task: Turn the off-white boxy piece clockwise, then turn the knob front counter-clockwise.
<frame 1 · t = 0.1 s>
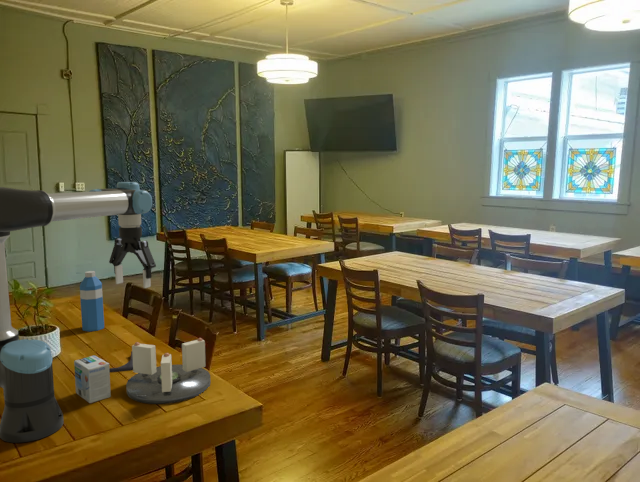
hand: (133, 285, 185), 28 cm above the table, fingers open, 13 cm apart
plate: (169, 385, 167), on the table
knob front: (166, 373, 158), point 8 cm above the table, hinge at 0.0°
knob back: (144, 359, 169), point 8 cm above the table, hinge at 0.0°
water bottle: (93, 328, 226), on the table
light bulb box: (93, 395, 161), on the table
off-white boxy piece: (193, 355, 172), point 8 cm above the table, hinge at 0.0°
bracket: (132, 364, 187), on the table
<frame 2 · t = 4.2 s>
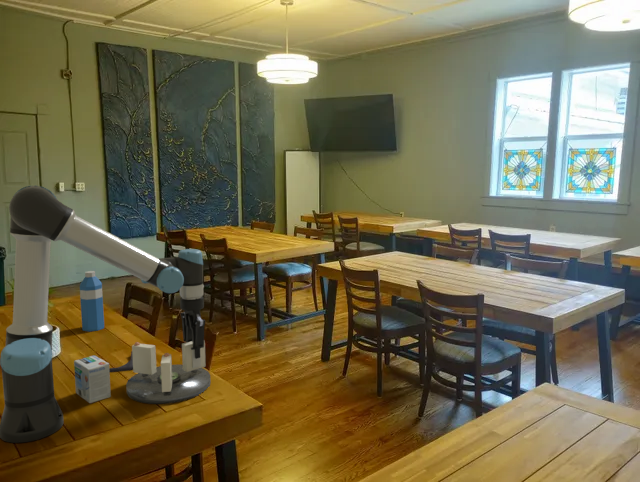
hand: (194, 365, 173), 5 cm above the table, fingers closed on off-white boxy piece, 3 cm apart
off-white boxy piece: (193, 355, 172), point 8 cm above the table, hinge at -0.3°, touching gripper
everything else where it was.
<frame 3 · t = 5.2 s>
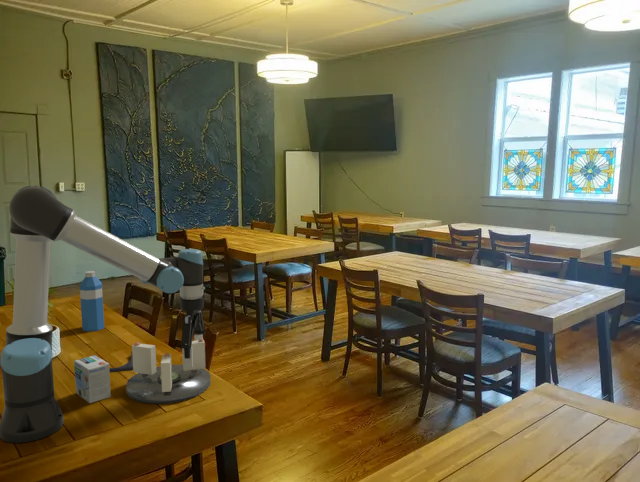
hand: (194, 359, 173), 6 cm above the table, fingers open, 12 cm apart
off-white boxy piece: (193, 355, 172), point 8 cm above the table, hinge at -22.0°
everything else where it was.
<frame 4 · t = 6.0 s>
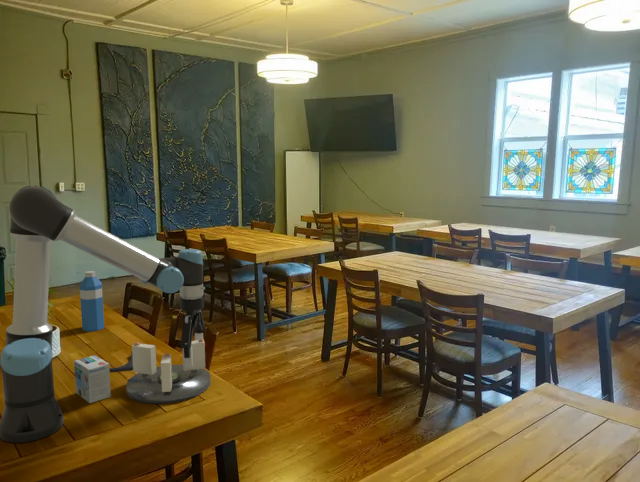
hand: (193, 358, 172), 7 cm above the table, fingers open, 13 cm apart
off-white boxy piece: (193, 355, 172), point 8 cm above the table, hinge at -24.5°
everything else where it was.
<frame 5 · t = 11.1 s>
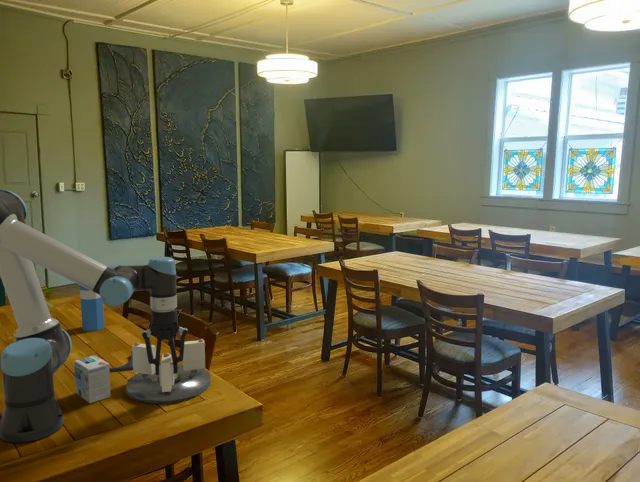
hand: (167, 383, 158), 5 cm above the table, fingers closed on knob front, 3 cm apart
knob front: (166, 373, 158), point 8 cm above the table, hinge at 0.0°, touching gripper
off-white boxy piece: (193, 355, 172), point 8 cm above the table, hinge at -25.5°
everything else where it was.
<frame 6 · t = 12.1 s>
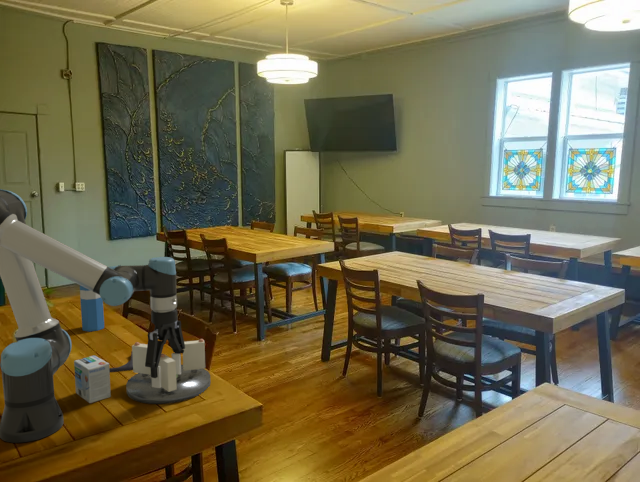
hand: (167, 380, 158), 6 cm above the table, fingers open, 10 cm apart
knob front: (166, 373, 158), point 8 cm above the table, hinge at 29.9°
everything else where it was.
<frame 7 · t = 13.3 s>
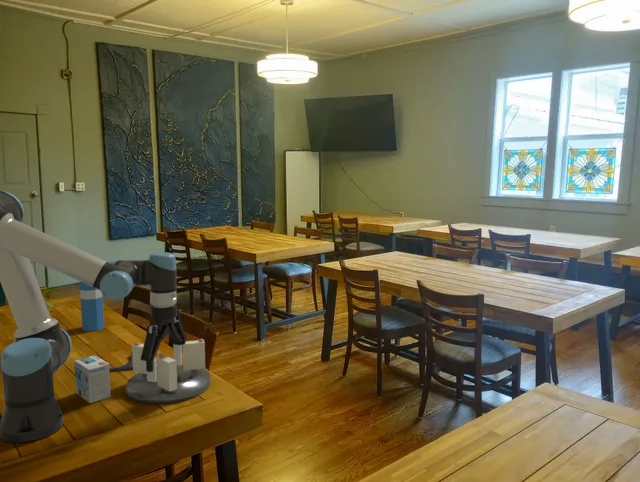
hand: (165, 372, 157), 8 cm above the table, fingers open, 13 cm apart
knob front: (166, 373, 158), point 8 cm above the table, hinge at 34.6°
everything else where it was.
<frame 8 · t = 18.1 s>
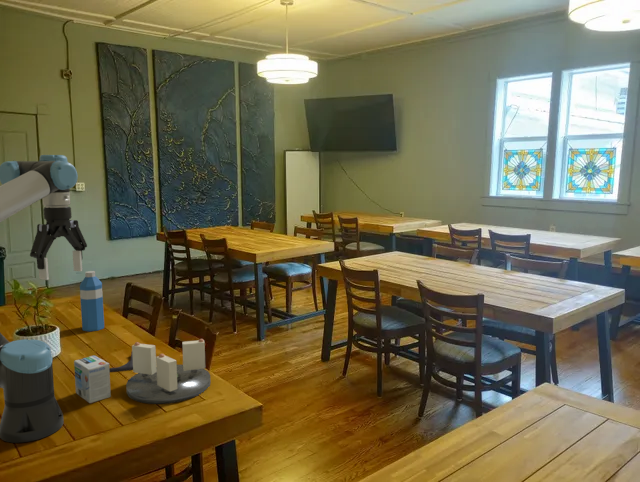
hand: (61, 275, 160), 37 cm above the table, fingers open, 13 cm apart
knob front: (166, 373, 158), point 8 cm above the table, hinge at 35.4°
everything else where it was.
at the end: off-white boxy piece at -26° (first picture: +0°); knob front at +35° (first picture: +0°); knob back at +0° (first picture: +0°) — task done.
